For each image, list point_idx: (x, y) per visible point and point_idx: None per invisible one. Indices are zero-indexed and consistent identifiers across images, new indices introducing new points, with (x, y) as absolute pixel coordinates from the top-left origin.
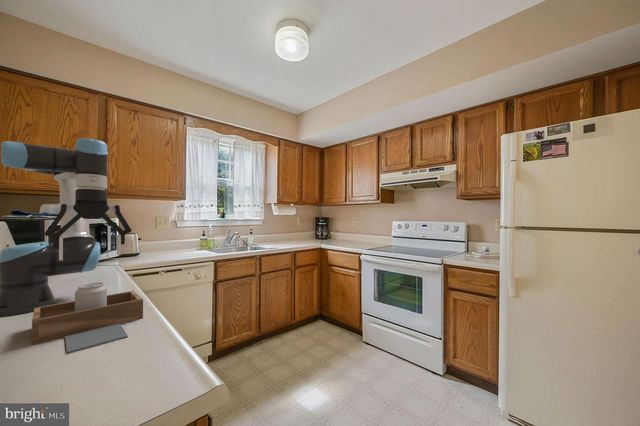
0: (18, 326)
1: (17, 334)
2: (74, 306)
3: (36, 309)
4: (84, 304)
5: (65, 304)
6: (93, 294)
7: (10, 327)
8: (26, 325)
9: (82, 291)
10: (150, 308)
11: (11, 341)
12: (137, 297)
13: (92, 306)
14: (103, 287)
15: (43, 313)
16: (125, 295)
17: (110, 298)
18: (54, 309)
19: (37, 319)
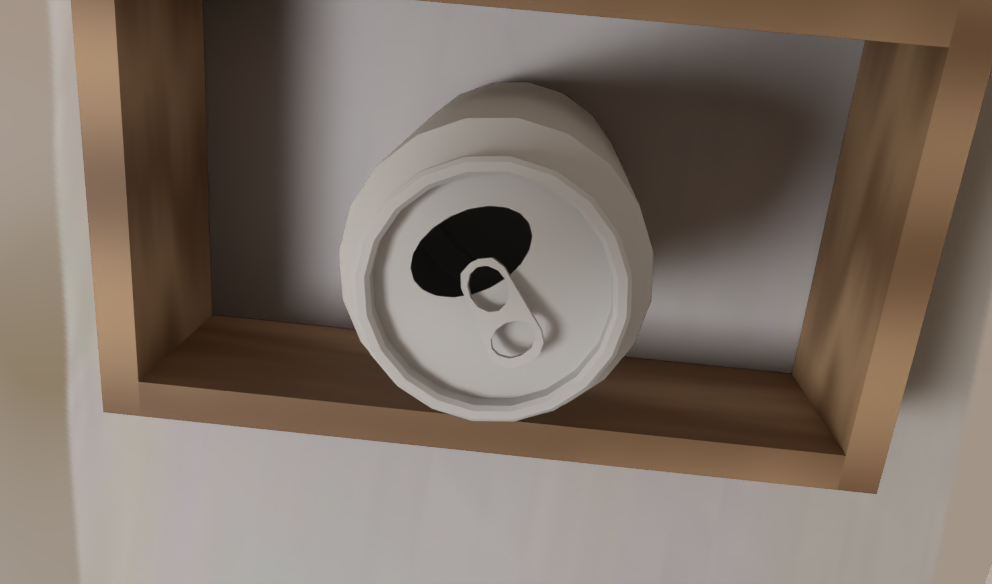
0: (876, 531)
1: (919, 347)
2: (600, 406)
3: (880, 420)
4: (581, 127)
5: (668, 432)
6: (501, 113)
7: (913, 550)
8: (838, 512)
9: (602, 183)
10: (68, 182)
11: (977, 214)
12: (104, 76)
13: (517, 97)
14: (378, 197)
15: (806, 424)
16: (193, 374)
17: (322, 386)
18: (738, 427)
19: (963, 31)
